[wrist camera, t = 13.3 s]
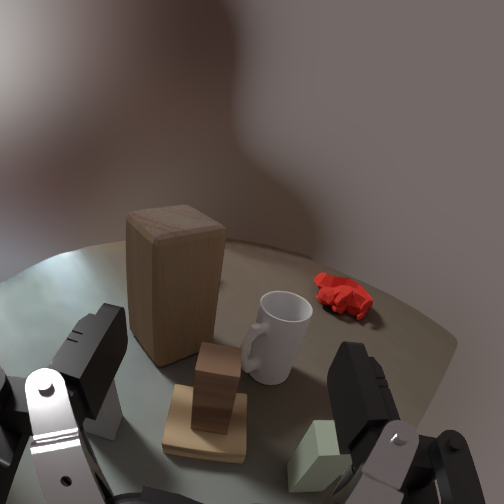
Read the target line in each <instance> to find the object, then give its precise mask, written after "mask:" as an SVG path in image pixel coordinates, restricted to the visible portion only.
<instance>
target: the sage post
mask: <svg viewBox="0 0 504 504" xmlns="http://www.w3.org/2000/svg"><path fill="white" fill-rule="evenodd" d="M351 462H352V460H351V454H345V455H340V453H339V447H338V441H337V435H336V429H335V423H334V420H314V421H313V422H312V424H311V426H310V427H309V429H308V431H307V432H306V434H305V436H304V437H303V439H302V441H301V442H300V444H299V446H298V447H297V449H296V450H295V452H294V453H293V455H292V457H291V458H290V460H289V461H288V463H287V474H288V490H289V492H318V491H324V490H325V489H326V488H327V487H328V486H329V485H330V484H331V483H332V482H333V481H334V480H335V479H336V478H337V477H338V476H340V475H341V474H342V473H343V472H344V471H345V470H346V468H347V467H348V466H349V465H350V464H351Z"/></svg>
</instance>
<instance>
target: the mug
mask: <svg viewBox="0 0 504 504" xmlns="http://www.w3.org/2000/svg"><path fill="white" fill-rule="evenodd" d="M312 313H313V309H312V307H311V305H310V303H309V302H308V301H307V300H305V299H304V298H303V297H301V296H299V295H296V294H294V293H290V292H285V291H273V292H269V293H267V294H265V295H264V296H263V297H262V298H261V300H260V305H259V310H258V315H257V320H256V323H255V324H251V325H250V329H249V331H248V333H247V334H246V336H245V338H244V340H243V342H242V345H241V347H240V348H242V360H241V368H242V370H243V371H245V372H246V373H249V374H250V375H251V377H252V378H253V379H255V380H256V381H258V382H260V383H262V384H266V385H277V384H280V383H282V382H284V381H285V380H286V379H287V378H288V376H289V373H290V371H291V368H292V366H293V364H294V361H295V359H296V356H297V353H298V351H299V348H300V346H301V343H302V341H303V338H304V335H305V333H306V330H307V327H308V325H309V321H310V318H311V316H312ZM251 343H252V345H251ZM250 345H251V350H250V355H249V360H248V356H247V355H248V349H249V347H250Z"/></svg>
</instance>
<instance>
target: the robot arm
mask: <svg viewBox="0 0 504 504" xmlns="http://www.w3.org/2000/svg"><path fill="white" fill-rule="evenodd" d="M127 344H128V336H127V327H126V316H125V309H124V308H123V307H119V306H115V305H111V304H107V303H104V304H103V305H102V306H101V308H100V309H99V310H98V312H97V313H96V315H94V314H88V315H87V316H85V317H84V318H82V319H81V320H79V321H78V323H77V324H76V325H75V327H74V328H73V330H72V332H71V333H70V334H69V336H68V337H67V340H65V341H64V343H63V344H62V346H61V347H60V349H59V350H58V352H57V353H56V355H55V356H54V358H53V359H52V361H51V362H50V364H49V366H48V367H47V368H46V369H41V370H38V371H36V372H34V373H32V374H31V375H30V376H29V377H28V378H19V377H11V376H6V374H5V372H4V370H3V369H2V368H1V367H0V504H5V503H6V500H7V497H8V494H9V491H10V488H11V485H12V482H13V479H14V476H15V473H16V470H17V468H18V465H19V462H20V459H21V457H22V454H23V452H24V449H25V447H26V444H27V442H28V439H29V437H30V436H34V442H33V443H31V452H32V457H33V461H34V464H35V468H36V472H37V475H38V479H39V482H40V485H41V488H42V491H43V495H44V497H45V500H46V503H47V504H203V503H200V502H197V501H195V500H192V499H190V498H187V497H185V496H182V495H180V494H176V493H171V492H166V491H162V490H157V489H153V488H149V487H145V486H143V490H142V493H138V492H136V493H125V494H120V495H116V496H114V495H113V492H112V490H111V488H110V486H109V484H108V482H107V480H106V479H105V477H104V475H103V473H102V471H101V469H100V466H99V464H98V462H97V459H96V457H95V454H94V452H93V449H92V446H91V444H90V441H89V438H88V436H87V433H86V430H85V427H84V425H83V422H84V420H85V418H89V419H92V420H95V421H96V418H97V416H98V413H99V411H100V409H101V406H102V404H103V402H104V399H105V397H106V395H107V393H108V390H109V388H110V386H111V384H112V381H113V379H114V377H115V375H116V372H117V370H118V368H119V366H120V364H121V362H122V360H123V357H124V355H125V353H126V350H127ZM327 386H328V391H329V396H330V401H331V407H332V412H333V418H334V423H335V429H336V435H337V441H338V447H339V453H340V455H345V454H351V460H352V462H351V464H350V465H349V467H348V468H347V470H346V471H345V473H344V474H343V476H342V477H341V479H340V480H339V482H338V483H337V485H336V486H335V487H334V489H333V490H332V492H331V493H330V495H329V496H328V497H327V499H326V500H325V501H324V502H323V503H322V504H439V500H438V496H437V490H436V486H435V482H434V481H435V480H436V479H437V483H438V487H439V492H440V496H441V504H485V500H484V496H483V492H482V489H481V485H480V482H479V478H478V475H477V472H476V469H475V466H474V462H473V459H472V456H471V453H470V450H469V447H468V444H467V442H466V440H465V438H464V437H463V436H462V435H461V434H460V433H459V432H457V431H454V430H446V431H444V432H442V433H441V435H439V437H437V438H434V437H428V436H423V435H418V433H417V431H416V430H415V428H414V427H413V426H412V425H411V424H409V423H407V422H405V421H402V420H400V417H399V414H398V411H397V408H396V406H395V403H394V400H393V397H392V394H391V391H390V389H389V388H388V383H387V380H386V379H385V375H384V372H383V370H382V367H381V366H380V364H379V363H378V362H377V361H376V360H375V359H374V357H368V354H367V351H366V349H365V346H364V344H363V343H356V342H342V343H341V345H340V347H339V349H338V351H337V354H336V356H335V358H334V360H333V362H332V364H331V366H330V368H329V371H328V375H327Z"/></svg>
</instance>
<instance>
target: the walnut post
mask: <svg viewBox="0 0 504 504" xmlns="http://www.w3.org/2000/svg"><path fill="white" fill-rule="evenodd" d="M241 360H242V348H236V347H230V346H224V345H218V344H212V343H207V342H202V343H201V347H200V351H199V355H198V359H197V363H196V367H195V374H194V387H193V400H192V415H191V429H193V430H199V431H205V432H211V433H217V434H224V435H227V432H228V428H229V423H230V419H231V415H232V411H233V406H234V402H235V398H236V393H237V389H238V385H239V380H240V373H241Z"/></svg>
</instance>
